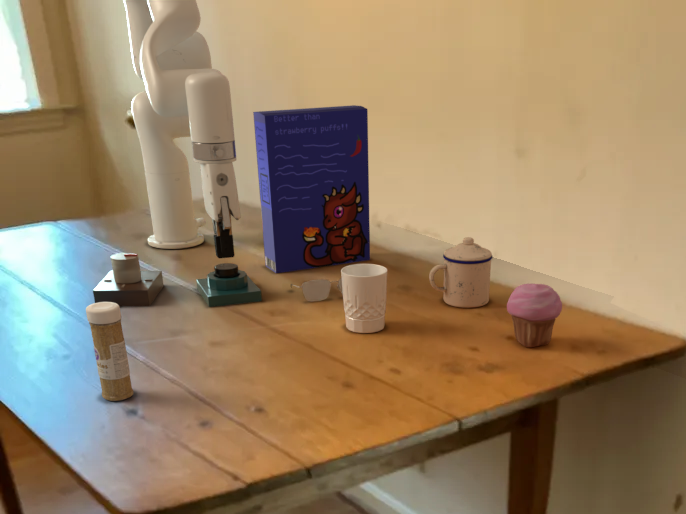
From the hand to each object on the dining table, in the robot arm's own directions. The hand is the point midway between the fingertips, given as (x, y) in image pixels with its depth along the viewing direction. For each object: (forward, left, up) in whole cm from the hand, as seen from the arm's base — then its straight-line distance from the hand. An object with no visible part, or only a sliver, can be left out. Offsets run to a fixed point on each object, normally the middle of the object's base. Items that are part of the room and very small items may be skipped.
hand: (225, 256), depth 169 cm
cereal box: (-27, +5, -8) cm, 29 cm away
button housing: (0, 0, -7) cm, 7 cm away
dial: (+8, -17, -4) cm, 19 cm away
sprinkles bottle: (+48, +12, -8) cm, 50 cm away
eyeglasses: (-9, +17, -8) cm, 21 cm away
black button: (0, 0, -4) cm, 4 cm away
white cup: (+6, +32, -8) cm, 33 cm away
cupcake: (+2, +61, -8) cm, 61 cm away
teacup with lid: (-14, +42, -8) cm, 45 cm away
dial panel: (+8, -17, -7) cm, 20 cm away
